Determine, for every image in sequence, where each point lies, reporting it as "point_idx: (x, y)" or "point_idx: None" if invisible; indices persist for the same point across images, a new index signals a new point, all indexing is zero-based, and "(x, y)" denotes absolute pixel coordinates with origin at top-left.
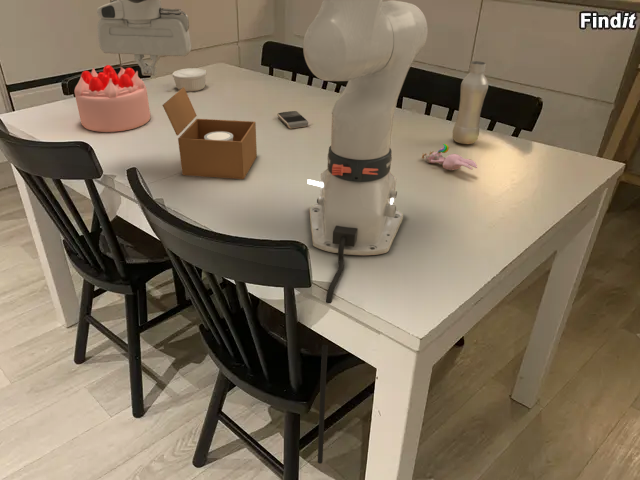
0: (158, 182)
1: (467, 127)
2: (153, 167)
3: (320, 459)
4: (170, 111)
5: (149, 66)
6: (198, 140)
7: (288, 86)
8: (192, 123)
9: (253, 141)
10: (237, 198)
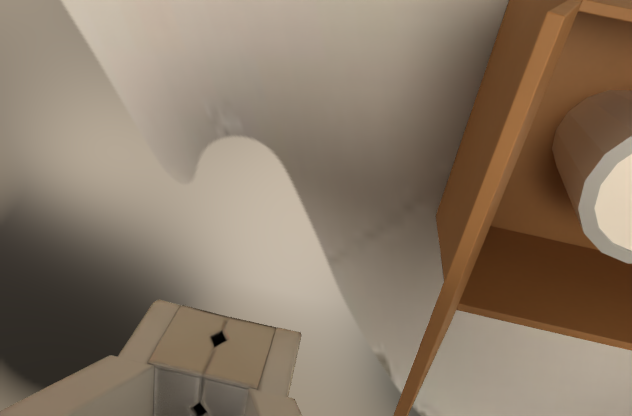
0: (354, 260)
1: None
2: (312, 137)
3: None
4: (429, 364)
5: (207, 400)
6: (548, 329)
7: None
8: None
9: None
10: (615, 382)
